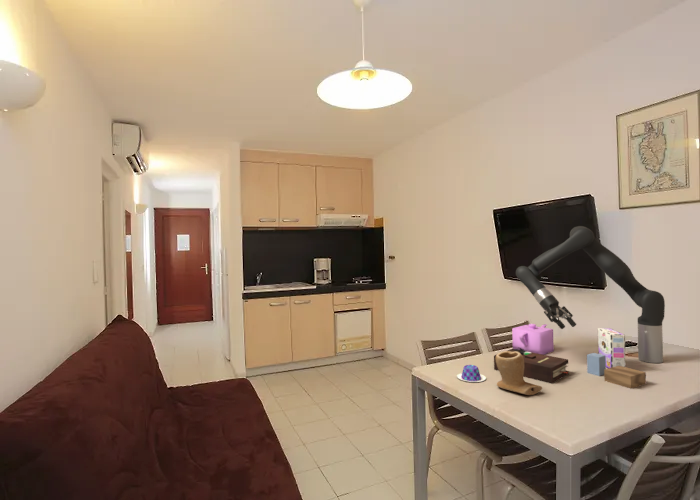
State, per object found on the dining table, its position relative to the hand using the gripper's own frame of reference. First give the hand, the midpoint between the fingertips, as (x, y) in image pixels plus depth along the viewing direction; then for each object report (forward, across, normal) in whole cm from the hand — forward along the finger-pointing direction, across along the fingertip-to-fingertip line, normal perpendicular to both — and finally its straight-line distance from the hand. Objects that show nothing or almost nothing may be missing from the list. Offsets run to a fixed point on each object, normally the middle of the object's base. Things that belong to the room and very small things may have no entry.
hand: (569, 326), depth 180 cm
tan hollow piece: (+18, -46, +8) cm, 50 cm away
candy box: (+21, +13, +4) cm, 25 cm away
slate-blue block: (+22, -1, +4) cm, 22 cm away
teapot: (-5, +10, +31) cm, 33 cm away
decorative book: (+10, -22, +16) cm, 29 cm away
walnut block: (+30, -3, -5) cm, 31 cm away
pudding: (+4, -49, +23) cm, 54 cm away
